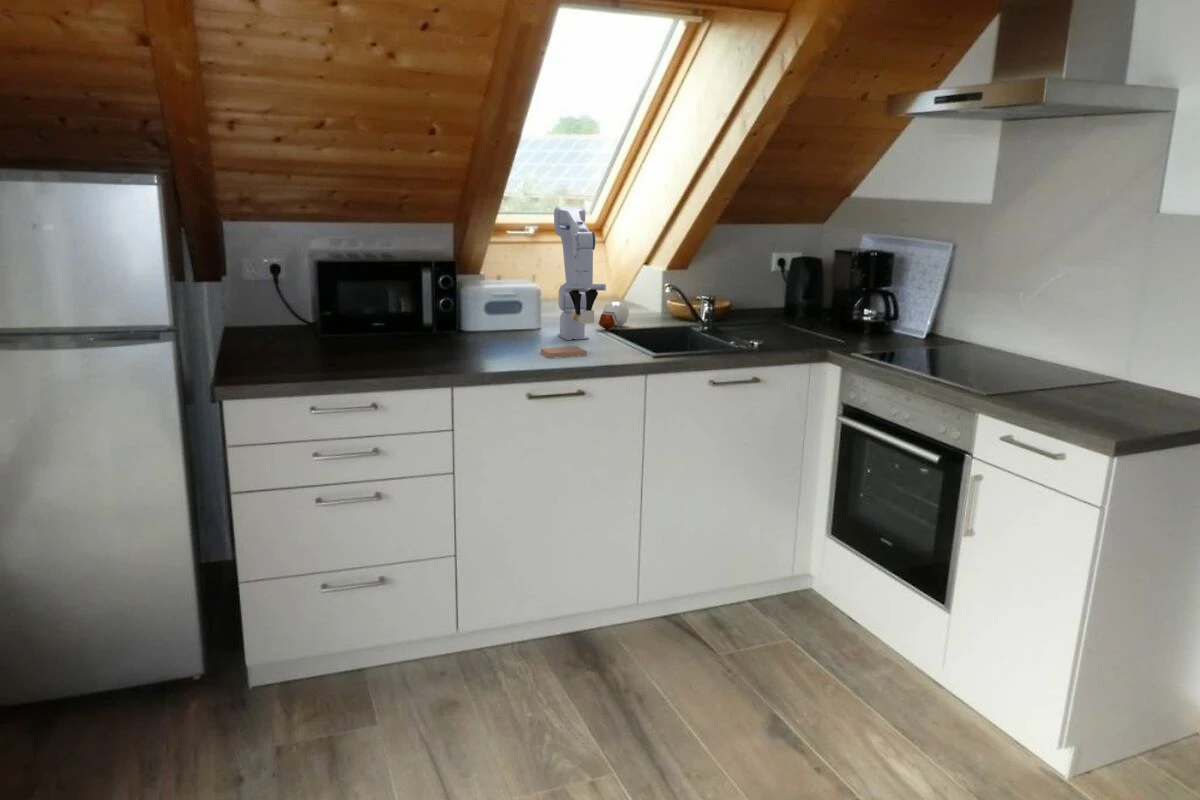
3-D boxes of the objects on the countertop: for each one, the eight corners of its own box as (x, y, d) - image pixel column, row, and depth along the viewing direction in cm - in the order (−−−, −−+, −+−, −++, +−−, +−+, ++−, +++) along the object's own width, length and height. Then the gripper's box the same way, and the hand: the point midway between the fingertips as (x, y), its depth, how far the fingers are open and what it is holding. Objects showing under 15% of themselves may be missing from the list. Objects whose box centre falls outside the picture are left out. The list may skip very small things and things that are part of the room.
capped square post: (569, 319, 282) (569, 306, 282) (581, 318, 284) (581, 306, 283) (582, 323, 273) (582, 310, 272) (594, 323, 274) (594, 310, 273)
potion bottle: (623, 328, 322) (610, 339, 308) (602, 311, 322) (589, 322, 309) (637, 309, 317) (625, 320, 304) (616, 292, 318) (603, 302, 304)
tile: (540, 348, 268) (549, 353, 261) (576, 345, 273) (586, 350, 266) (540, 354, 269) (549, 359, 261) (576, 352, 273) (586, 357, 266)
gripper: (566, 272, 267) (566, 316, 271) (610, 271, 273) (609, 314, 276) (558, 270, 274) (558, 313, 277) (601, 269, 279) (600, 311, 282)
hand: (583, 314), depth 277 cm, fingers closed on capped square post, 3 cm apart
